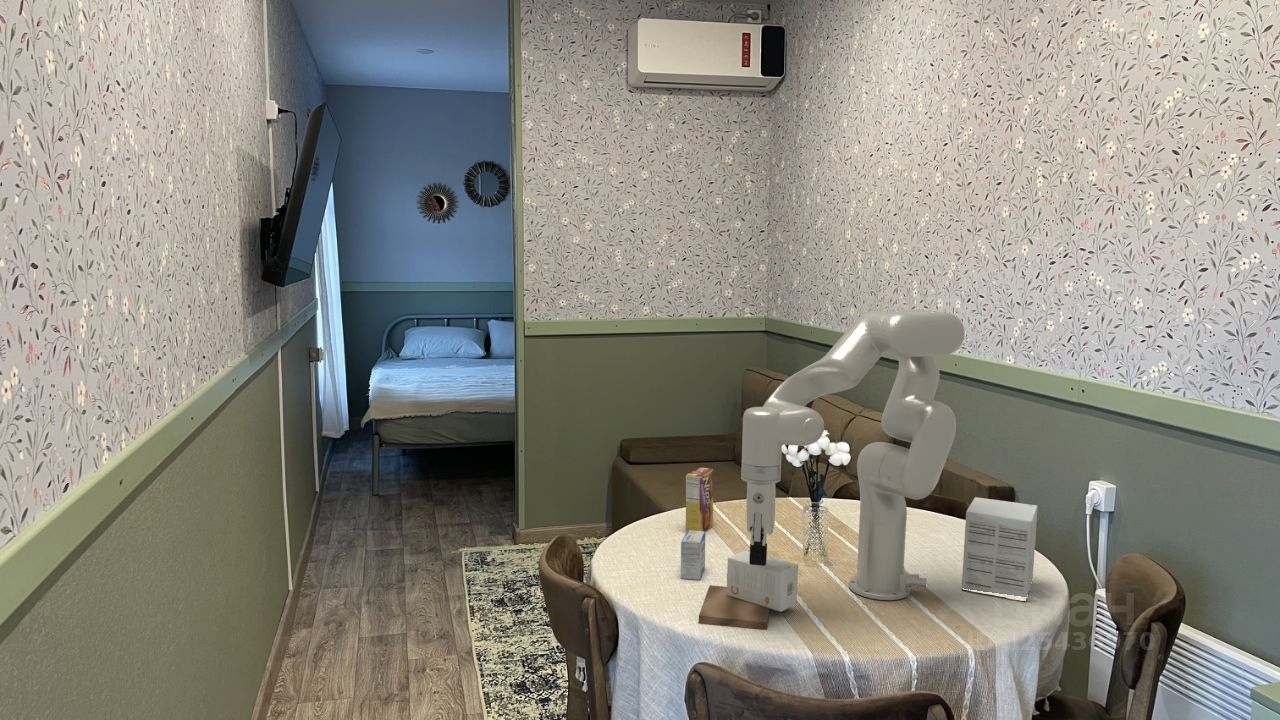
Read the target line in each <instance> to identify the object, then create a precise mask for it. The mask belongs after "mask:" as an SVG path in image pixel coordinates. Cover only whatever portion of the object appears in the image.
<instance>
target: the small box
mask: <svg viewBox="0 0 1280 720" xmlns="http://www.w3.org/2000/svg"><path fill="white" fill-rule="evenodd" d="M749 560H750V551H747V550H742V551H740V552H738V553H735V554H733V555H731V556H728V557H727V568H726V569H727V570H726V587H727V595H728V596H731V597H735V598H738V599H741V600H744V601H748V602H751V603H754V604H757V605H760V606H763V607H767V608H770V610H774V611H777V612H780V613H781V612H783V611H785V610H787V609H789V608H790V607H792V606H794V605H795V604H797V603H798V582H799V581H798V577H799V576H798V575H799V573H798V572H799V564H797V563H792V562H789V561H785V560H781V559H779V558H775V557H771V556H767V561H766V565H765V566H761V565H751V564H750V563H749Z"/></svg>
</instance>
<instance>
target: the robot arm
mask: <svg viewBox="0 0 1280 720" xmlns="http://www.w3.org/2000/svg"><path fill="white" fill-rule="evenodd" d="M965 331H966V330H965V326H964V325H963V322H962V320H961V319H960V318H959V317H958V316H957V315H954V314H953V313H951V312H950V313H949V312H939V311H931V310H922V309H902V310H899V311H897V312H895V311H887V310H886V311H885V310H868V311H866V312H863V313H862V314H860V315H859V316H858V317H857V318H856V320H855V321H854V322H853V323H852V324H851V325H850V327H849V328H848V329H847V330H846V331H845V332H844V333H843V335H842V336H840V338H839V339H838V340H837V342H835V343H834V345H833V346H832V347H831V348H830V349H829V351H828V352H826V354H825V355H824V356H823V357H822V358H820V359H819V360H817V361H815V362H813V363H812V364H809V365H808V366H806V367H804V368H802V369H801V370H800V371H798V372H796V373H794V374H791V376H789V377H788V378H786V379H785V380H784V381H783V382H782V383H781V384H780V385H778V387H777V388H776V389H775V390H774V392H773V393H772V394H771V395H770V396H769V397H768V398H767V400H766V401H765V402H764V404H763V405H762V406H753V407H750V408H747V409H746V410H745V411H744V413H743V415H742V440H741V441H742V443H741V444H742V446H741V448H742V449H741V470H740V472H741V473H740V474H741V475H740V476H741V477H740V478H741V480H742V481H743V482H746V531H747V533H749V534H750V542H749V543H750V544H749V552H750V560H749V563H750V564H751V565H761V566H765V565H766V561H767V557H768V556H767V555H768V543H767V534H768V535H769V536H771V535H772V534H773V533H774V530H775V523H776V522H775V521H776V520H775V516H776V514H775V513H776V484H777V483H780V482H781V479H782V478H781V477H782V475H781V474H782V473H781V472H782V449H783V447H782V446H798V447H801V446H802V447H804V446H810V445H813V444H815V443H817V442H818V441H819V439H821V438H822V436H823V434H824V431H825V421H824V419H823V417H822V416H821V415H820V413H819V412H817V410H815V409H812V408H810V407H808V406H807V405H808V404H809V403H811V402H812V401H814V400H816V399H819V398H821V397H824V396H827V395H831V394H836V393H840V392H844V391H848V390H850V389H852V388H854V387H856V386H857V385H858V384H859V383H860V382H861V381H862V379H863V378H864V377H865V376H866V375H867V373H868V372H869V371H870V370H871V369H872V368H873V367H874V365H875V364H876V363H877V362H878V361H879V359H880V358H881V357H882V356H884V355H890V356H895V357H896V356H897V359H898V371H897V374H896V377H895V381H894V382H893V386H892V388H891V391H890V393H889V396H888V399H887V401H886V404H885V407H884V410H883V412H882V416H881V420H880V423H881V428H882V430H883V431H884V433H885V434H886V435H888V436H890V437H891V438H893V439H897V440H899V441H900V440H901V441H904V442H907V443H910V447H909V448H906V447H904V446H901V445H897V444H893V443H890V442H886V441H885V442H884V441H875V442H871V443H869V444H867V445H866V446H864V447H863V448H862V449H861V451H860V452H859V454H858V458H857V463H856V471H857V478H858V479H857V480H858V484H859V499H860V500H859V501H860V503H859V504H860V505H859V523H858V524H859V525H858V526H859V527H858V545H857V565H856V567H857V568H856V575H855V576H852V577H850V578H849V581H848V586H849V588H850V590H851V591H852V592H853V593H855V594H857V595H859V596H861V597H864V598H868V599H872V600H879V601H896V600H901V599H904V598H907V597H908V596H910V595H911V586H913V587H914V586H915V587H920V588H922V587H923V588H927V577H920V574H917V573H908V572H907V571H906V568H905V553H906V551H905V549H906V535H907V534H906V532H907V520H908V517H907V515H908V510H907V502H906V499H905V498H908V499H911V500H923V499H924V498H927V497H929V496H930V494H932V492H933V491H934V490H935V488H936V486H937V484H938V482H939V480H940V477H941V475H942V471H943V470H944V467H945V464H946V462H947V460H948V459H947V458H949V457H948V456H949V454H950V451H951V448H952V446H953V443H954V440H955V437H956V432H957V419H956V416H955V413H954V411H953V410H952V408H950V407H949V406H948V405H947V404H945V403H943V402H942V401H938V400H934V398H935V397H936V392H937V390H938V386H939V382H940V374H941V373H940V367H939V363H938V360H937V358H936V357H938V356H939V357H940V356H948V355H950V354H953V353H955V352H956V351H957V350H958V349H960V347H961V346H962V345H963V342H964V340H965V335H966V334H965V333H966V332H965Z"/></svg>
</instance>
